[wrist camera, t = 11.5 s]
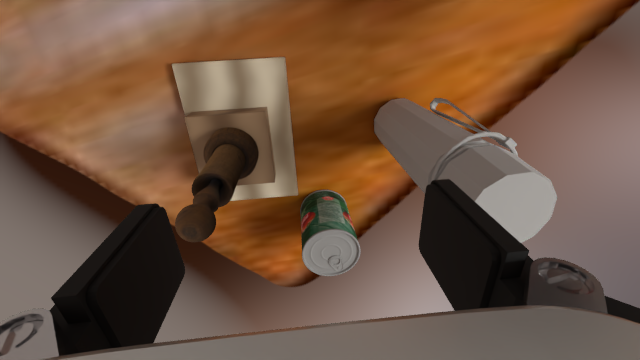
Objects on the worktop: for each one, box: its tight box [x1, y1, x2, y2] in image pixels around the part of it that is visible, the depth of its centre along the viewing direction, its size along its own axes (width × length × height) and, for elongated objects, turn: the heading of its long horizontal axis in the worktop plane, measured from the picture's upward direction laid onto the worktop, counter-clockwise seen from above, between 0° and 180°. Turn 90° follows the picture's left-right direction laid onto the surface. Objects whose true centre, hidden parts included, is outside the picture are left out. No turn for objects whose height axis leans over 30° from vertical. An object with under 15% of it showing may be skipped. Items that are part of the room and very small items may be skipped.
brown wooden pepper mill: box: [175, 127, 259, 242], centre depth 30 cm, size 7×6×18 cm
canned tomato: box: [300, 190, 360, 276], centre depth 44 cm, size 8×8×11 cm
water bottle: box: [374, 98, 557, 243], centre depth 31 cm, size 9×8×25 cm
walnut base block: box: [184, 107, 276, 186], centre depth 40 cm, size 10×10×3 cm
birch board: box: [172, 57, 298, 201], centre depth 41 cm, size 14×20×1 cm
